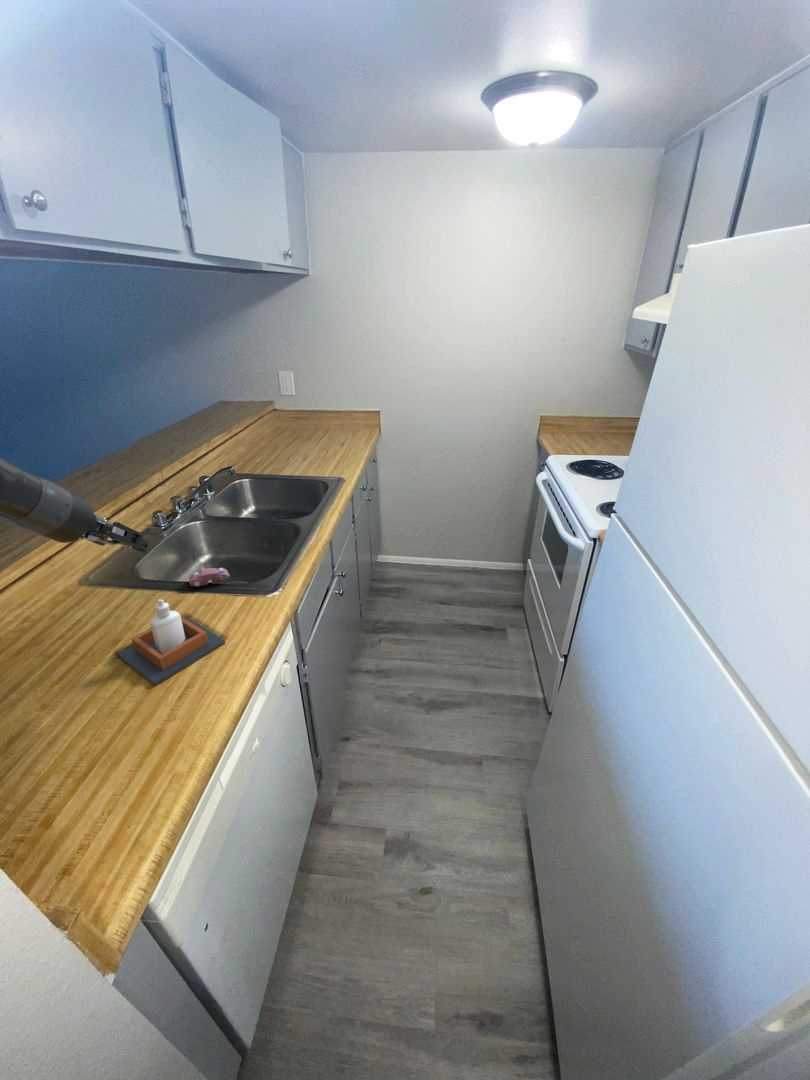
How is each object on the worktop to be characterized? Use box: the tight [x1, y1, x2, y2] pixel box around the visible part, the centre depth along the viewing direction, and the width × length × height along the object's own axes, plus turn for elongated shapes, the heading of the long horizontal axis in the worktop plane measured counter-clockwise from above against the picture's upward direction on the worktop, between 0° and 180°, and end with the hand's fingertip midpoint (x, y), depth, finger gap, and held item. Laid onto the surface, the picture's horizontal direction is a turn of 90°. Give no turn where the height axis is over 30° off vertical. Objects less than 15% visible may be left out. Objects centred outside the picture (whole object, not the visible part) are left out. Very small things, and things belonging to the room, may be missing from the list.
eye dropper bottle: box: [150, 598, 186, 654], centre depth 97 cm, size 4×6×12 cm
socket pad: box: [116, 615, 226, 687], centre depth 100 cm, size 16×14×4 cm
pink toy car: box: [188, 567, 231, 588], centre depth 121 cm, size 10×5×7 cm, turn 114°
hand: (125, 543), depth 83 cm, fingers open, 8 cm apart
